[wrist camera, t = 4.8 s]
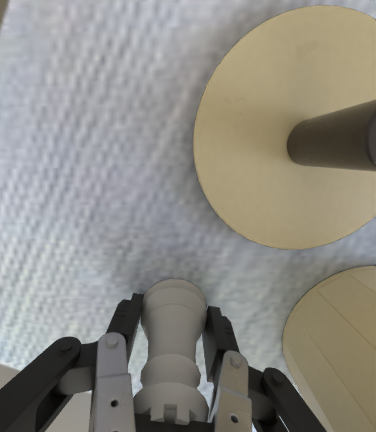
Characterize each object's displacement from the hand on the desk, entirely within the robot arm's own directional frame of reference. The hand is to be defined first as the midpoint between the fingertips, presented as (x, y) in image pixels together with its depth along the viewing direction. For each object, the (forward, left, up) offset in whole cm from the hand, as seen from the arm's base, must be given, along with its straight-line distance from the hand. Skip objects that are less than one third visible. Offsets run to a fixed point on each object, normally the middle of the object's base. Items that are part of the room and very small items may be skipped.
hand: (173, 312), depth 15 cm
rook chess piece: (0, 0, -1) cm, 1 cm away
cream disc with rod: (-12, +5, 0) cm, 13 cm away
